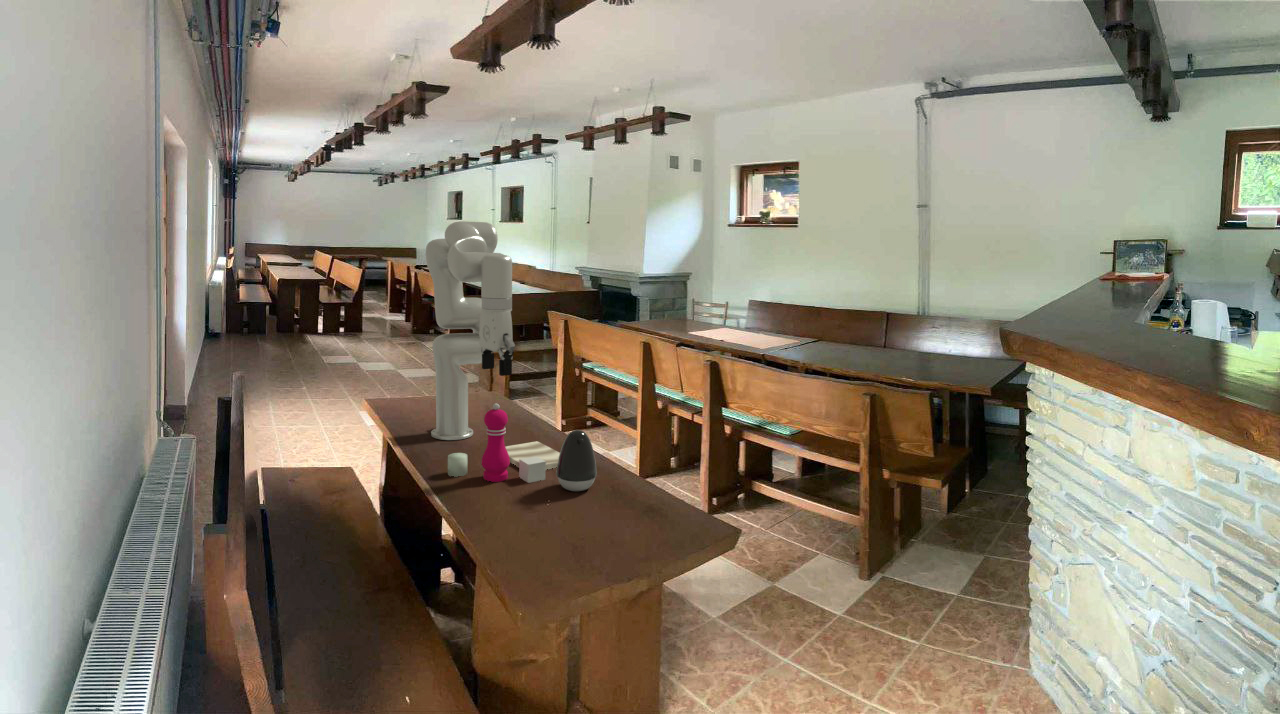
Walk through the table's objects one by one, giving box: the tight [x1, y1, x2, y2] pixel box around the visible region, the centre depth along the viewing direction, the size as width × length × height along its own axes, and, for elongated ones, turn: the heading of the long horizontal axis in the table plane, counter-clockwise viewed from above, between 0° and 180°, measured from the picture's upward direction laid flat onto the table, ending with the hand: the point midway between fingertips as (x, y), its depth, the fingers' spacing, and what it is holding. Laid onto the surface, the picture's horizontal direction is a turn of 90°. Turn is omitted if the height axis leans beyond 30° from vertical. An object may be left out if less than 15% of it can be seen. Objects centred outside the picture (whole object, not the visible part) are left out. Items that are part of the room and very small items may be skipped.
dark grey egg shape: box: [555, 429, 598, 492], centre depth 186 cm, size 10×10×15 cm
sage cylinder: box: [447, 452, 468, 478], centre depth 194 cm, size 5×5×5 cm
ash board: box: [505, 440, 560, 471], centre depth 209 cm, size 20×14×2 cm
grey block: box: [518, 457, 547, 484], centre depth 193 cm, size 5×5×5 cm
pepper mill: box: [481, 403, 511, 483], centre depth 191 cm, size 7×7×20 cm
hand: (496, 371), depth 187 cm, fingers open, 9 cm apart
